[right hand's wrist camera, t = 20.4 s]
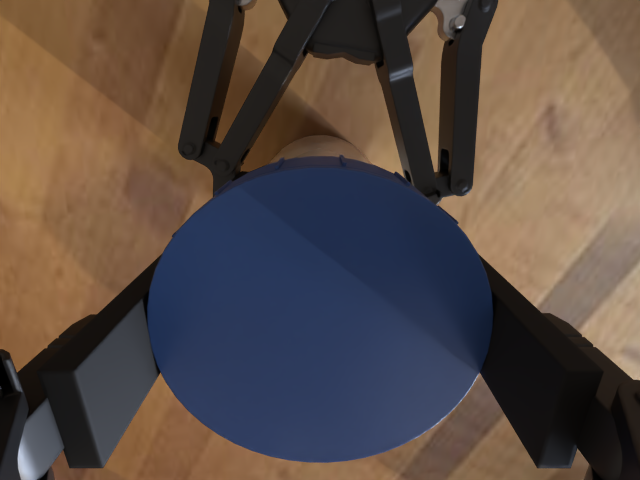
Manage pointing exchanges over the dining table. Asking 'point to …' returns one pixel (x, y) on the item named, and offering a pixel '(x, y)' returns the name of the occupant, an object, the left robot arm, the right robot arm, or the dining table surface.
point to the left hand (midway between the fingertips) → (310, 284)
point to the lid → (320, 311)
